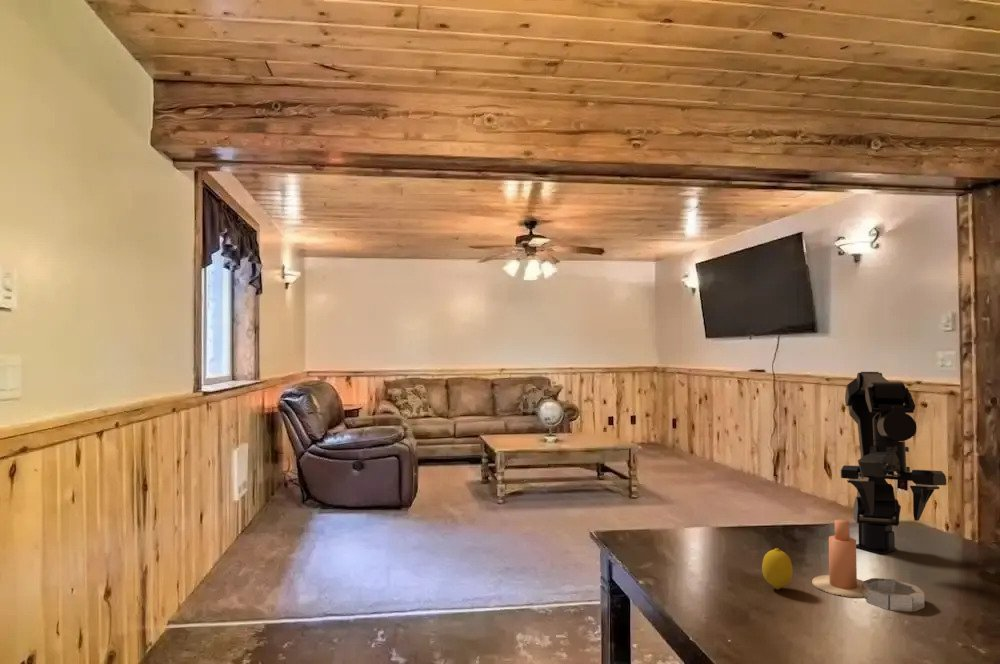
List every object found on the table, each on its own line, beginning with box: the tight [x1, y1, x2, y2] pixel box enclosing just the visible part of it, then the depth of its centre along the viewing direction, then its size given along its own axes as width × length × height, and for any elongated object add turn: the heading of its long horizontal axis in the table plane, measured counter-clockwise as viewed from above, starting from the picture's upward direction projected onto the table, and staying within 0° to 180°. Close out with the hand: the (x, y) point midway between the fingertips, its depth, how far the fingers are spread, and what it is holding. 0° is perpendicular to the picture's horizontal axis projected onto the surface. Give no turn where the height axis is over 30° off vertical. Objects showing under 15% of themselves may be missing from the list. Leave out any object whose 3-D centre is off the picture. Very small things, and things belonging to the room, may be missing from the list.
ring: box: [862, 577, 926, 613], centre depth 122 cm, size 9×9×2 cm
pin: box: [828, 519, 858, 589], centre depth 130 cm, size 5×5×12 cm
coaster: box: [811, 574, 864, 598], centre depth 130 cm, size 11×11×1 cm
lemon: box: [761, 547, 794, 590], centre depth 129 cm, size 6×6×8 cm
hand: (893, 517), depth 136 cm, fingers open, 9 cm apart
